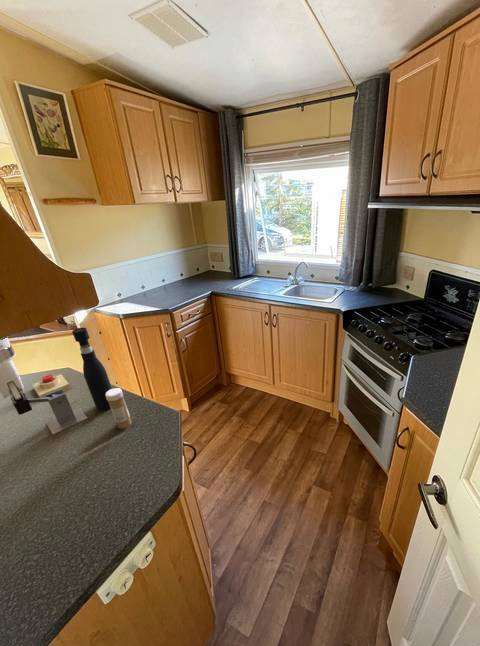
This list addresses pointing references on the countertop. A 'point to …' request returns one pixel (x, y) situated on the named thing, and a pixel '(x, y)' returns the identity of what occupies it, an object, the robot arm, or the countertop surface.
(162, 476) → the countertop surface
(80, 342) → the dark water bottle
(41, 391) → the control block
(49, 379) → the button
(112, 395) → the sprinkles bottle
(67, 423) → the grey lever stand
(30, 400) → the lever handle
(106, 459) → the countertop surface
